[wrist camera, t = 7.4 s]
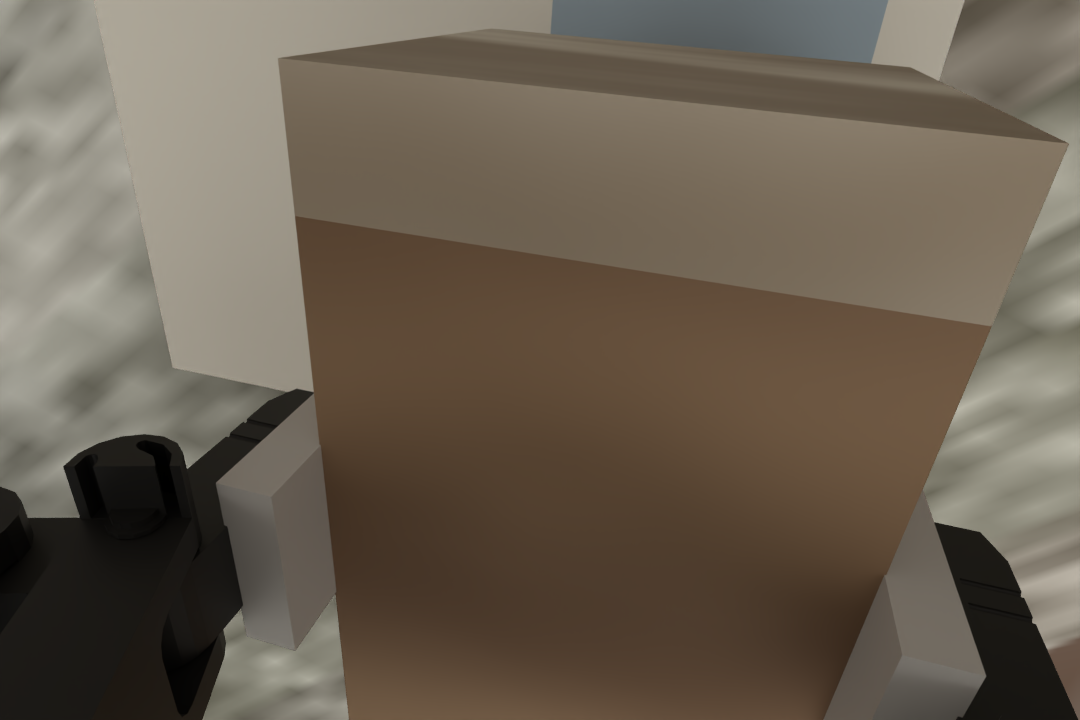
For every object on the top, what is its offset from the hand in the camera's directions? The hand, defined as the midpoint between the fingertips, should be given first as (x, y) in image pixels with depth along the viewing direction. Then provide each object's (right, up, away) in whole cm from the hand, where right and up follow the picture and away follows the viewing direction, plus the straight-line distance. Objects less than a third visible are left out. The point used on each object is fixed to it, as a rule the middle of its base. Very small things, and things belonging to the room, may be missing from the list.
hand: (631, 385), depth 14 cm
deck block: (0, +1, +1) cm, 1 cm away
